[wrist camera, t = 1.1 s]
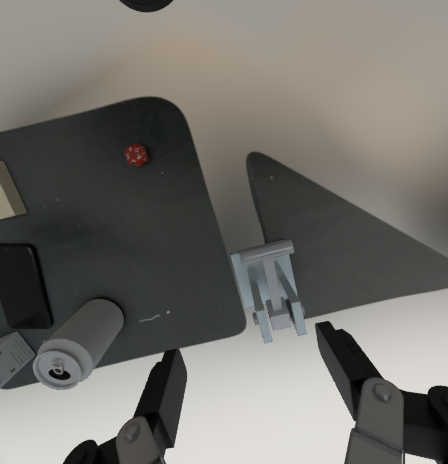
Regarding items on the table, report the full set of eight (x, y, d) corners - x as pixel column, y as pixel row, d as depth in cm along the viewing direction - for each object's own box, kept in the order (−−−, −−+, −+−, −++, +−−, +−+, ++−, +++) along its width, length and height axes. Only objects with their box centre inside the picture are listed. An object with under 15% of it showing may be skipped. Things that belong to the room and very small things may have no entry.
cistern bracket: (230, 252, 37) (231, 294, 24) (284, 239, 36) (314, 274, 24) (244, 304, 39) (253, 366, 27) (295, 292, 38) (328, 350, 26)
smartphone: (55, 326, 41) (34, 243, 36) (51, 330, 40) (30, 245, 36) (12, 326, 41) (-13, 243, 37) (8, 329, 40) (-19, 245, 36)
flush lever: (237, 246, 22) (240, 262, 20) (287, 233, 22) (295, 249, 20) (257, 316, 29) (261, 333, 27) (296, 307, 28) (303, 324, 26)
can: (84, 328, 41) (27, 391, 29) (84, 292, 39) (24, 344, 27) (124, 335, 41) (84, 399, 30) (127, 299, 39) (85, 353, 28)
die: (127, 148, 33) (118, 145, 30) (147, 143, 32) (139, 140, 29) (134, 168, 33) (125, 168, 30) (153, 163, 33) (146, 163, 30)
